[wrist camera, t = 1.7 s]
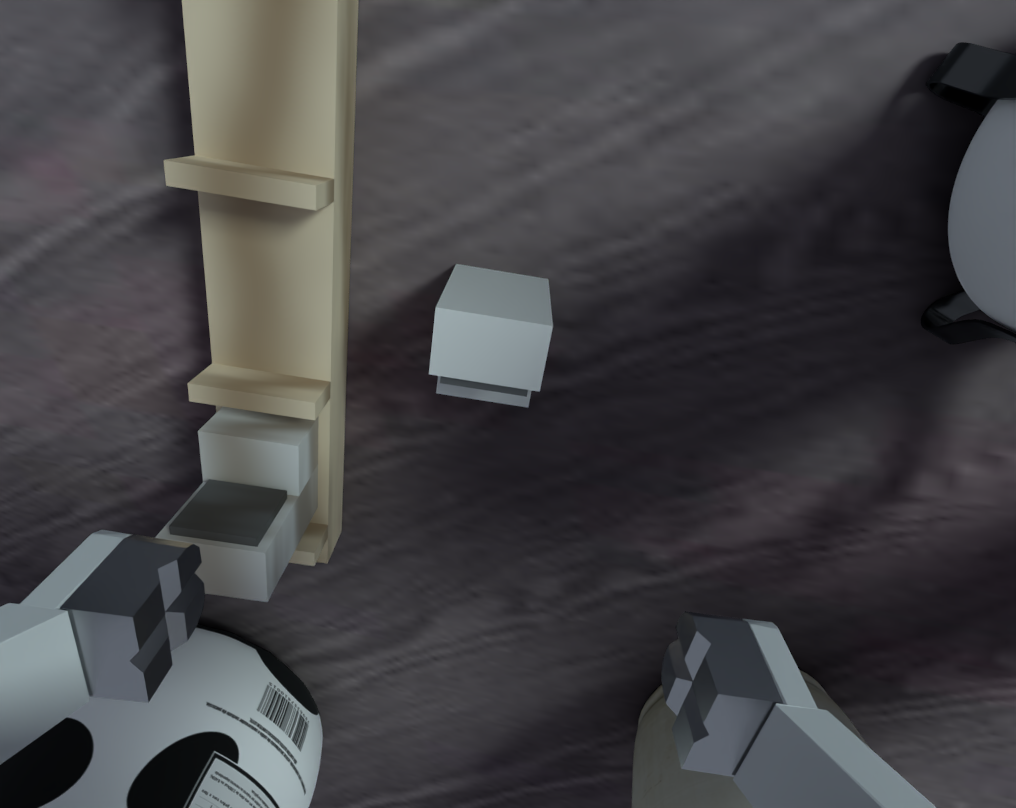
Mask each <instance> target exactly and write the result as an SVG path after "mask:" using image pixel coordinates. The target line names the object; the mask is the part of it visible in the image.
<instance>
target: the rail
mask: <svg viewBox="0 0 1016 808" xmlns="http://www.w3.org/2000/svg"><path fill="white" fill-rule="evenodd" d="M182 9H183V21H184V33H185V45H186V57H187V68H188V80H189V92H190V104H191V116H192V128H193V140H194V152H195V155H194V156H187V157H181V158H174V159H167V160H164V169H165V178H166V186H172V187H178V188H184V189H190V190H196V191H198V200H199V212H200V224H201V235H202V247H203V259H204V271H205V283H206V295H207V307H208V319H209V331H210V343H211V355H212V364H211V365H210V366H208V367H207V368H206V369H205V370H203V371H202V372H201V373H200V374H198V375H197V376H196V377H195V378H194V379H192V380H191V381H190V382H189V383H187V384H188V393H189V401H190V402H197V403H203V404H210V405H216V414H215V415H214V416H213V417H212V418H211V419H210V420H209V421H208V422H207V423H206V424H205V425H203V426H202V427H201V428H200V429H199V430H198V437H199V447H200V457H201V466H202V476H203V483H202V484H201V485H200V486H199V487H198V489H197V490H196V491H195V492H194V493H193V494H192V496H191V497H190V498H189V499H188V500H187V501H186V502H185V504H184V505H183V506H182V507H181V508H180V509H179V511H178V512H177V513H176V514H175V515H174V516H173V517H172V519H171V520H170V521H169V522H168V523H167V524H166V526H165V527H164V528H163V529H162V530H161V531H160V532H159V534H158V535H157V536H156V537H155V538H161V539H167V540H173V541H179V542H185V543H191V544H195V545H197V546H199V547H200V554H201V560H202V563H201V564H200V566H199V567H198V569H197V570H196V572H195V573H196V575H197V576H198V577H199V578H200V579H201V580H202V581H203V582H204V588H205V594H212V595H220V596H227V597H234V598H241V599H248V600H256V601H263V602H268V600H269V599H270V597H271V595H272V593H273V591H274V589H275V587H276V585H277V583H278V582H279V580H280V578H281V576H282V574H283V572H284V570H285V568H286V566H287V565H288V563H295V564H302V565H309V566H315V564H316V562H320V563H328V561H329V559H330V556H331V554H332V552H333V550H334V547H335V545H336V543H337V541H338V538H339V536H340V534H341V532H342V501H343V470H344V438H345V407H346V375H347V344H348V313H349V281H350V250H351V219H352V187H353V156H354V125H355V93H356V62H357V31H358V0H182Z"/></svg>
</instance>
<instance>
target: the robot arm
mask: <svg viewBox="0 0 1016 808" xmlns="http://www.w3.org/2000/svg"><path fill="white" fill-rule="evenodd" d="M201 563H202V560H201V554H200V547H199V546H197V545H195V544H191V543H185V542H179V541H173V540H167V539H161V538H154V537H148V536H142V535H136V534H133V535H132V534H126V533H120V532H114V531H108V530H100V531H97V532H95V533H92V534H91V535H90V536H89V537H88V538H86V539H85V540H84V541H83V542H82V543H81V544H80V545H79V546H78V547H77V548H76V549H75V550H74V551H73V552H72V553H71V554H70V555H69V556H68V557H67V558H66V559H65V560H64V561H63V562H62V563H61V564H60V565H59V566H58V567H57V568H56V569H55V570H54V571H53V572H52V573H51V574H50V575H49V576H48V577H47V578H46V579H45V580H44V581H43V582H41V583H40V584H39V585H38V586H37V587H36V588H35V589H34V590H33V591H32V592H31V593H30V594H29V595H28V596H27V597H26V598H25V599H24V600H23V601H22V602H21V603H20V604H14V603H8V604H5V605H3V606H1V607H0V765H1V764H2V763H3V762H5V761H6V760H8V759H9V758H10V757H12V756H13V755H15V754H16V753H17V752H19V751H20V750H22V749H23V748H24V747H26V746H27V745H29V744H30V743H31V742H33V741H34V740H36V739H37V738H38V737H40V736H41V735H43V734H44V733H45V732H47V731H48V730H50V729H51V728H52V727H54V726H55V725H57V724H58V723H59V722H61V721H62V720H64V719H65V718H66V717H68V716H69V715H71V714H72V713H73V712H75V711H76V710H78V709H79V708H80V707H82V706H83V705H85V704H86V703H87V702H89V701H90V697H95V698H105V699H116V700H126V701H137V702H147V703H149V701H150V700H151V698H152V697H153V695H154V694H155V692H156V690H157V689H158V687H159V686H160V684H161V683H162V681H163V679H164V678H165V676H166V675H167V673H168V672H169V670H170V668H171V667H172V665H173V664H172V656H171V651H172V650H174V649H176V648H177V647H179V646H181V645H182V644H184V643H185V642H187V641H188V640H189V638H190V636H191V635H192V633H193V632H194V630H195V628H196V627H197V624H198V621H199V619H200V616H201V613H202V610H203V607H204V598H205V588H204V582H203V581H202V580H201V579H200V578H199V577H198V576H197V575H196V573H195V572H196V570H197V569H198V567H199V566H200V564H201ZM676 631H677V634H678V638H679V639H677V640H676V641H674V642H673V643H671V644H670V645H668V647H667V650H666V653H665V655H664V658H663V665H662V675H661V677H662V689H663V693H664V698H665V703H666V704H667V705H668V706H669V708H670V709H671V710H672V711H673V712H674V713H675V714H676V716H677V718H676V720H675V722H674V725H673V727H672V732H673V736H674V740H675V744H676V749H677V753H678V757H679V761H680V765H681V769H685V770H691V771H698V772H704V773H711V774H717V775H724V776H730V777H734V779H733V781H734V782H735V783H736V785H737V786H738V787H739V789H740V790H741V791H742V793H743V794H744V795H745V797H746V798H747V800H748V801H749V802H750V804H751V805H752V806H753V808H936V807H935V806H934V805H933V804H932V803H931V802H930V801H928V800H927V799H926V798H925V797H924V796H923V795H922V794H921V793H919V792H918V791H917V790H916V789H915V788H914V787H913V786H912V785H910V784H909V783H908V782H907V781H906V780H905V779H904V778H903V777H901V776H900V775H899V774H898V773H897V772H896V771H895V770H894V769H893V768H891V767H890V766H889V765H888V764H887V763H886V762H885V761H884V760H882V759H881V758H880V757H879V756H878V755H877V754H876V753H875V752H873V751H872V750H871V749H870V748H869V747H868V746H867V745H866V744H865V743H863V742H862V741H861V740H860V739H859V738H858V737H857V736H856V735H854V734H853V733H852V732H851V731H850V730H849V729H848V728H847V727H845V726H844V725H843V724H842V723H841V722H840V721H839V720H838V719H837V718H835V717H834V716H833V715H832V714H831V713H830V712H829V711H828V710H822V709H818V707H817V705H816V703H815V701H814V699H813V697H812V695H811V693H810V691H809V689H808V687H807V685H806V683H805V681H804V679H803V677H802V675H801V673H800V671H799V669H798V667H797V665H796V663H795V661H794V659H793V657H792V655H791V653H790V651H789V649H788V647H787V645H786V643H785V641H784V639H783V637H782V635H781V633H780V631H779V629H778V627H777V626H776V625H775V624H773V623H772V622H766V621H758V620H750V619H740V618H733V617H725V616H718V615H710V614H702V613H694V612H686V611H685V612H684V613H683V614H682V615H681V616H680V618H679V620H678V622H677V625H676Z"/></svg>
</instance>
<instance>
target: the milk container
mask: <svg viewBox="0 0 1016 808" xmlns="http://www.w3.org/2000/svg"><path fill="white" fill-rule="evenodd" d="M171 656H172V664H173V665H172V667H171V668H170V670H169V672H168V673H167V675H166V676H165V678H164V679H163V681H162V683H161V684H160V686H159V687H158V689H157V690H156V692H155V694H154V695H153V697H152V698H151V700H150V701H149V703H147V702H137V701H126V700H116V699H105V698H95V697H90V701H89V702H87V703H86V704H85V705H83V706H82V707H80V708H79V709H78V710H76V711H75V712H73V713H72V714H71V715H69V716H68V717H66V718H65V719H64V720H62V721H61V722H59V723H58V724H57V725H55V726H54V727H52V728H51V729H50V730H48V731H47V732H45V733H44V734H43V735H41V736H40V737H38V738H37V739H36V740H34V741H33V742H31V743H30V744H29V745H27V746H26V747H24V748H23V749H22V750H20V751H19V752H17V753H16V754H15V755H13V756H12V757H10V758H9V759H8V760H6V761H5V762H3V763H2V764H1V765H0V808H308V807H309V805H310V802H311V799H312V796H313V793H314V789H315V786H316V781H317V776H318V772H319V767H320V760H321V751H322V740H323V734H322V726H321V720H320V714H319V711H318V708H317V706H316V704H315V702H314V700H313V698H312V696H311V694H310V692H309V691H308V689H307V688H306V686H305V685H304V683H303V682H302V681H301V680H300V679H299V678H298V677H297V676H296V675H295V674H294V673H293V672H292V671H291V670H290V669H288V668H287V667H286V666H285V665H284V664H283V663H282V662H280V661H279V660H278V659H277V658H275V657H274V656H273V655H272V654H271V653H270V652H268V651H266V650H264V649H262V648H260V647H258V646H255V645H253V644H251V643H249V642H248V641H246V640H244V639H242V638H241V637H239V636H237V635H235V634H233V633H231V632H226V631H222V630H218V629H213V628H209V627H205V626H201V625H198V624H197V627H196V628H195V630H194V632H193V633H192V635H191V636H190V638H189V640H188V641H187V642H185V643H184V644H182V645H181V646H179V647H177V648H176V649H174V650H172V651H171Z"/></svg>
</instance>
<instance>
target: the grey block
mask: <svg viewBox="0 0 1016 808" xmlns="http://www.w3.org/2000/svg"><path fill="white" fill-rule="evenodd" d="M552 329H553V321H552V311H551V301H550V291H549V281H548V279H545V278H539V277H533V276H527V275H521V274H514V273H508V272H502V271H496V270H490V269H484V268H478V267H472V266H466V265H460V264H456V265H455V267H454V269H453V272H452V274H451V276H450V278H449V280H448V282H447V284H446V286H445V289H444V291H443V293H442V295H441V297H440V299H439V301H438V303H437V305H436V309H435V318H434V328H433V338H432V348H431V357H430V367H429V374H430V375H436V376H438V381H437V390H436V393H438V394H444V395H450V396H457V397H463V398H470V399H476V400H483V401H489V402H495V403H502V404H508V405H515V406H521V407H528V406H529V401H530V396H531V391H538V392H540V388H541V383H542V378H543V373H544V368H545V363H546V358H547V353H548V348H549V343H550V338H551V334H552Z"/></svg>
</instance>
